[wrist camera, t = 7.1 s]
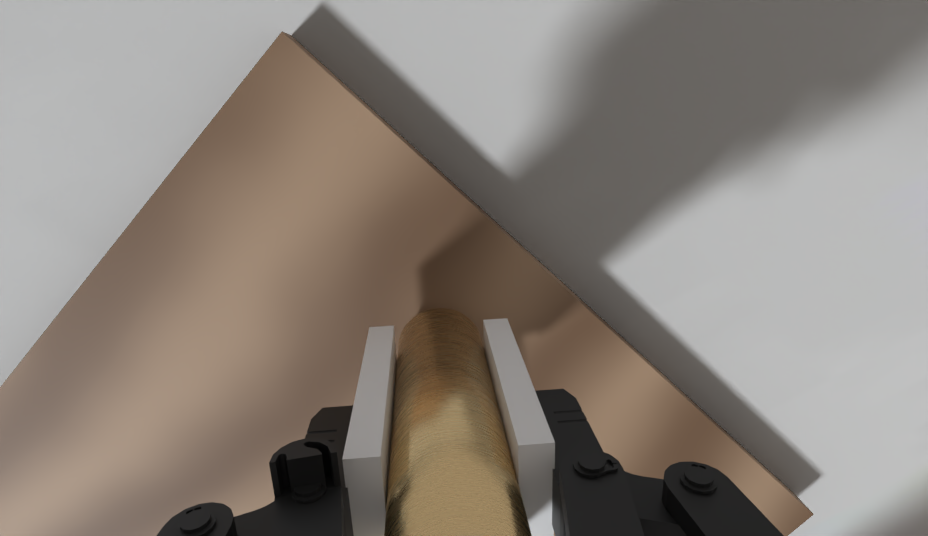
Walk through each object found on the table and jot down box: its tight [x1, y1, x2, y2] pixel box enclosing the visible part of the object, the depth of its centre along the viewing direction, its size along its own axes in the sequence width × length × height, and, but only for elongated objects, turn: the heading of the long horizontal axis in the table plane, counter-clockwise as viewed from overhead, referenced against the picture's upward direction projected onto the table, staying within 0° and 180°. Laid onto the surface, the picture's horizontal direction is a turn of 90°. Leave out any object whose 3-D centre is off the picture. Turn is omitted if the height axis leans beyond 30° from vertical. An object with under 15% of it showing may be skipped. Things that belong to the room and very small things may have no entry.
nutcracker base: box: [0, 32, 813, 536], centre depth 21 cm, size 27×21×4 cm
